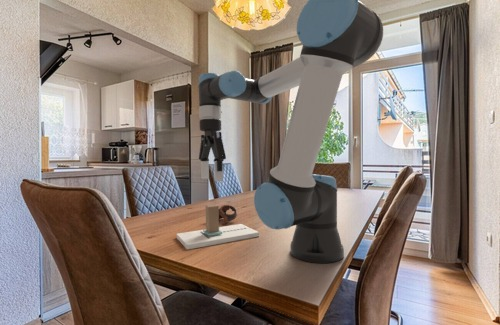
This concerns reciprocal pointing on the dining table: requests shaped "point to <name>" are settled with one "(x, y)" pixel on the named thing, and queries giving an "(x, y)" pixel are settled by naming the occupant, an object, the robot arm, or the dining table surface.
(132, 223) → the dining table surface
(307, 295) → the dining table surface
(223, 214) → the dark brown looped ring
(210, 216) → the stub
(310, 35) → the robot arm
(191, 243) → the board
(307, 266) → the dining table surface
